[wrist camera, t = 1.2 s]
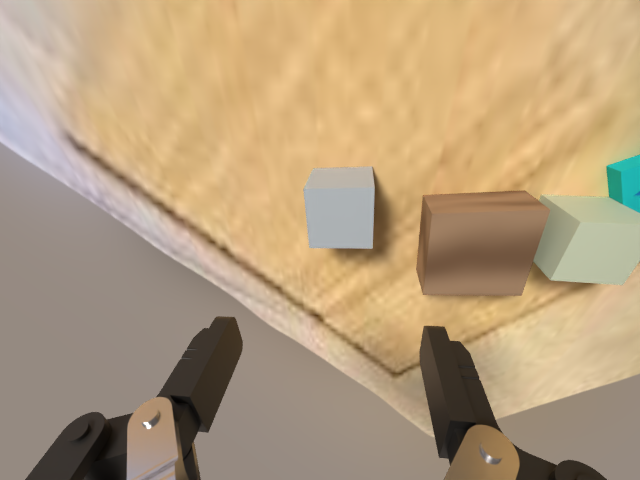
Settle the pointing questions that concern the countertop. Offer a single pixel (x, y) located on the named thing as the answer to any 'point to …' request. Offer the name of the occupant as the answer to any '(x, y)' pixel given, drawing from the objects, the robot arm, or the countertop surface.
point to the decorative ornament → (625, 182)
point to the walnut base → (478, 242)
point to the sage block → (588, 240)
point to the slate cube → (340, 207)
